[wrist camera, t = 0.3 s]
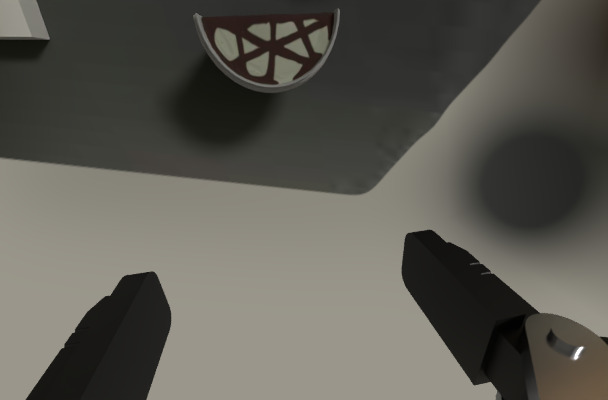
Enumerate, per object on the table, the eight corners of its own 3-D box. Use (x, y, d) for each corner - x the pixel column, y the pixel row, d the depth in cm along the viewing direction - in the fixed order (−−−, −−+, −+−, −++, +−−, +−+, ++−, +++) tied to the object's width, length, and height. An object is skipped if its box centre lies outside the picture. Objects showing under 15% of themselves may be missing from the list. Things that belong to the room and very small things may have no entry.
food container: (219, 92, 32) (204, 99, 23) (208, 31, 30) (187, 13, 21) (321, 85, 34) (344, 89, 25) (319, 26, 31) (345, 8, 22)
